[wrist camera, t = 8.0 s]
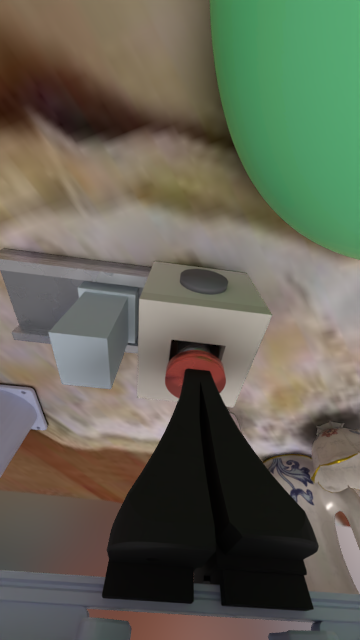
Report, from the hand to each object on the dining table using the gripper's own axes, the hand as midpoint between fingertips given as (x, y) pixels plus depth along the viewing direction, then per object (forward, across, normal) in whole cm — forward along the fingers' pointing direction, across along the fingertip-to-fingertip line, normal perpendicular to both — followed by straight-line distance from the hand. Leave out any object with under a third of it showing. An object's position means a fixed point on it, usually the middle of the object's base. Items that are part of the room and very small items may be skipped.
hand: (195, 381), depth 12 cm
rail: (+8, +9, 0) cm, 12 cm away
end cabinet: (+8, 0, 0) cm, 8 cm away
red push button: (+5, 0, 0) cm, 5 cm away
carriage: (+6, +6, 0) cm, 9 cm away
